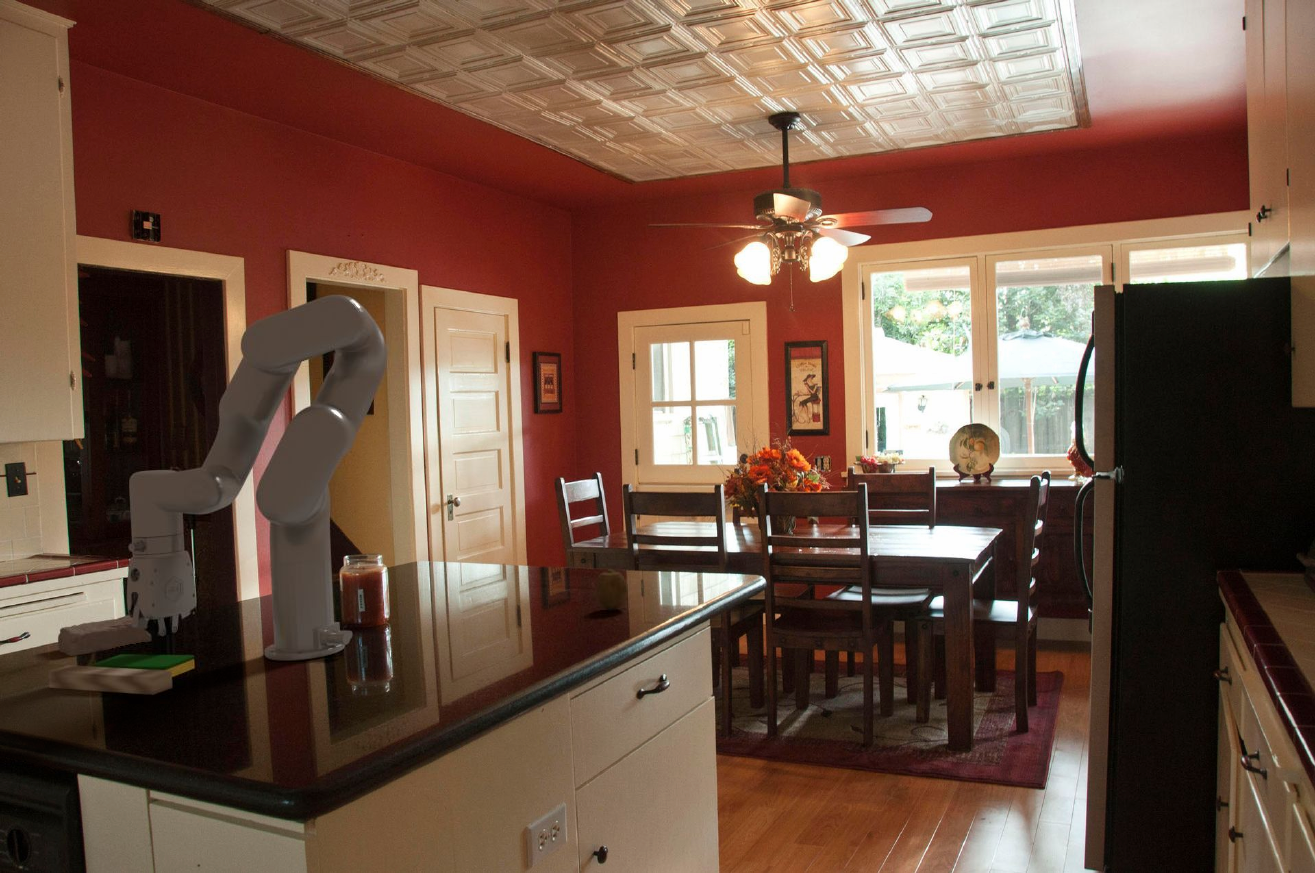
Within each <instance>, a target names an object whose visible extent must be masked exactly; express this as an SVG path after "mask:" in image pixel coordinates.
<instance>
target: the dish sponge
mask: <svg viewBox="0 0 1315 873" xmlns="http://www.w3.org/2000/svg"><path fill="white" fill-rule="evenodd" d="M195 665H196V664H195V655H194V654H193V655H192V654H175V655H152V654H125V653H124V654H123V653H122V654H118V655H115V656H112V657H110V658H106V659H103V660H100V661H98V662H95V663H91V664H88V666H91V667H109V668H127V669H144V670H162V671H172V678H173V677H176V676H178V675H180V674H183V673H185V672H189V671H190V670H193V669H195Z"/></svg>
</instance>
